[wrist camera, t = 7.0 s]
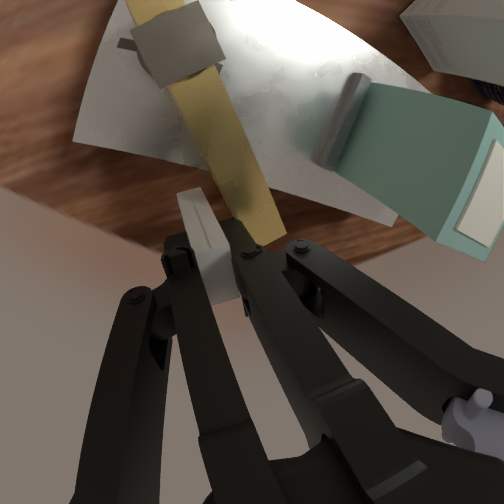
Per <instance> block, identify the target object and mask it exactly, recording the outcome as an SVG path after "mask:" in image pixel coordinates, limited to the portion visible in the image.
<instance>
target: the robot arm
mask: <svg viewBox="0 0 504 504" xmlns="http://www.w3.org/2000/svg"><path fill="white" fill-rule="evenodd" d="M176 195H177V199H178V203H179V207H180V211H181V214H182V218H183V222H184V226H185V230H186V232H183V233H179V234H176V235H172V236H169V237H167V238H166V240H165V242H164V249H165V252H164V253H163V255H162V256H161V262H162V265H163V268H164V271H165V273H166V276H167V279H166V280H165V282H164V283H163V284H162V285H160V286H159V287H157V288H155V289H154V290H151V289H150V288H148V287H146V286H138V287H135V288H132V289H130V290H128V291H127V292H126V293H125V294H124V295H123V297H122V299H121V301H120V304H119V307H118V310H117V313H116V316H115V319H114V322H113V326H112V329H111V332H110V335H109V339H108V342H107V345H106V349H105V353H104V356H103V359H102V363H101V367H100V370H99V374H98V378H97V382H96V386H95V390H94V394H93V398H92V402H91V406H90V411H89V415H88V420H87V424H86V429H85V434H84V439H83V444H82V449H81V455H80V461H79V467H78V473H77V480H76V486H75V493H74V495H73V497H72V499H71V501H70V503H69V504H159V494H160V472H161V453H162V440H163V426H164V414H165V403H166V393H167V383H168V374H169V365H170V357H171V349H172V336H174V335H175V334H177V338H178V343H179V348H180V353H181V357H182V362H183V367H184V371H185V376H186V380H187V385H188V389H189V393H190V397H191V401H192V405H193V409H194V413H195V417H196V421H197V425H198V429H199V435H200V436H199V437H198V442H199V447H200V451H201V454H202V458H203V461H204V464H205V468H206V472H207V475H208V478H209V482H210V485H211V488H212V492H211V493H210V494H209V495H208V496H207V498H206V499H205V501H204V502H203V504H504V359H503V358H500V357H497V356H494V355H492V354H488V353H486V352H483V351H480V350H477V349H474V348H472V347H471V346H469V345H468V344H467V343H465V342H464V341H462V340H461V339H460V338H458V337H457V336H455V335H454V334H453V333H451V332H450V331H448V330H447V329H446V328H444V327H443V326H441V325H440V324H438V323H437V322H435V321H434V320H433V319H431V318H430V317H428V316H427V315H425V314H424V313H422V312H421V311H420V310H418V309H417V308H415V307H414V306H412V305H411V304H409V303H408V302H406V301H405V300H403V299H402V298H400V297H399V296H397V295H396V294H394V293H393V292H391V291H390V290H388V289H387V288H385V287H384V286H382V285H381V284H379V283H378V282H376V281H375V280H373V279H372V278H370V277H369V276H367V275H366V274H364V273H363V272H361V271H360V270H358V269H356V268H355V267H353V266H352V265H350V264H349V263H347V262H346V261H344V260H342V259H341V258H339V257H338V256H336V255H335V254H333V253H331V252H330V251H328V250H327V249H325V248H324V247H322V246H320V245H319V244H317V243H316V242H314V241H311V240H309V239H296V240H293V241H291V242H289V243H288V244H287V245H286V247H285V249H286V251H280V252H269V251H267V250H266V249H265V248H264V247H263V246H262V245H259V244H256V243H255V241H254V239H253V238H252V236H251V235H250V233H249V232H248V231H247V229H246V227H245V226H244V224H243V223H242V221H240V220H238V219H236V218H231V219H227V220H223V221H220V222H218V221H217V219H216V217H215V215H214V213H213V211H212V209H211V207H210V205H209V203H208V201H207V199H206V197H205V195H204V193H203V191H202V189H201V187H198V188H194V189H190V190H186V191H183V192H179V193H176ZM239 291H240V294H241V296H242V301H243V306H244V311H245V316H246V317H248V316H249V318H250V321H251V323H252V325H253V327H254V329H255V331H256V333H257V336H258V338H259V340H260V342H261V344H262V346H263V348H264V350H265V353H266V355H267V357H268V359H269V361H270V363H271V365H272V367H273V369H274V372H275V374H276V376H277V378H278V380H279V382H280V384H281V386H282V388H283V390H284V392H285V395H286V397H287V399H288V401H289V403H290V405H291V407H292V409H293V411H294V413H295V415H296V417H297V419H298V421H299V423H300V425H301V427H302V429H303V431H304V433H305V436H306V439H307V442H308V446H309V448H310V450H309V451H308V452H306V453H305V454H303V455H302V456H299V457H293V458H286V459H277V460H268V458H267V455H266V453H265V451H264V448H263V446H262V443H261V441H260V438H259V436H258V433H257V431H256V428H255V426H254V423H253V421H252V419H251V417H250V414H249V412H248V409H247V407H246V404H245V401H244V399H243V396H242V393H241V391H240V388H239V385H238V383H237V380H236V377H235V374H234V371H233V369H232V366H231V363H230V360H229V357H228V355H227V352H226V349H225V346H224V343H223V341H222V337H221V334H220V332H219V329H218V326H217V323H216V320H215V317H214V314H213V311H212V308H211V306H212V305H215V304H218V303H222V302H225V301H228V300H231V299H235V298H238V297H240V295H239ZM319 327H320V328H321V329H322V330H323V331H324V332H325V333H326V334H328V335H329V336H330V337H331V338H332V339H333V340H335V341H336V342H337V343H338V344H339V345H340V346H341V347H342V348H344V349H345V350H346V351H347V352H348V353H349V354H351V355H352V356H353V357H354V358H355V359H356V360H357V361H359V362H360V363H361V364H362V365H363V366H364V367H366V368H367V369H368V370H369V371H370V372H371V373H373V374H374V375H375V376H376V377H377V378H378V379H380V380H381V381H382V382H383V383H384V384H385V385H387V386H388V387H389V388H390V389H391V390H392V391H394V392H395V393H396V394H397V395H398V396H399V397H401V398H402V399H403V400H404V401H405V402H407V403H408V404H409V405H410V406H411V407H412V408H413V409H415V410H416V411H417V412H419V413H420V414H421V415H423V416H424V417H426V418H428V419H429V420H431V421H433V422H435V423H437V424H439V425H441V427H442V437H443V439H444V440H445V441H446V442H448V443H451V442H452V443H454V444H455V445H456V446H457V447H456V446H453V445H450V444H446V443H443V442H440V441H436V440H433V439H430V438H427V437H424V436H421V435H418V434H415V433H412V432H409V431H406V430H404V429H400V428H397V427H395V425H394V423H393V422H392V420H391V419H390V417H389V416H388V414H387V413H386V412H385V410H384V409H383V407H382V405H381V404H380V403H379V401H378V400H377V398H376V397H375V395H374V394H373V392H372V391H371V390H370V388H369V386H368V385H367V384H366V383H365V382H364V381H363V380H361V379H354V378H353V377H352V376H351V375H350V374H349V372H348V371H347V369H346V368H345V366H344V365H343V363H342V362H341V361H340V359H339V357H338V356H337V354H336V353H335V351H334V350H333V348H332V347H331V345H330V344H329V342H328V341H327V339H326V338H325V336H324V335H323V333H322V332H321V330H320V329H319Z"/></svg>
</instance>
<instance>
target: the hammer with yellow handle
mask: <svg viewBox="0 0 504 504" xmlns="http://www.w3.org/2000/svg"><path fill="white" fill-rule="evenodd" d="M125 1H126V4H127V7H128V11H129V14H130V16H131V18H132V20H133V22H134V24H135V26H136V27H135V28H133V29H131V30H129V31H130V33H131V35H132V37H133V39H134V41H135V43H136V51H137V57H138V60H139V62H140V64H141V66H142V67H143V69H144V70H145V71H146V72H147V73H148V74H149V75H150V76H151V77H153V78H154V80H155V82H156V84H157V86H158V88H159V90H160V89H162V88H164V87H167V89H168V91H169V93H170V95H171V97H172V99H173V101H174V103H175V105H176V107H177V109H178V111H179V112H180V114H181V116H182V118H183V120H184V122H185V124H186V126H187V128H188V130H189V132H190V134H191V136H192V138H193V140H194V142H195V144H196V146H197V148H198V150H199V152H200V154H201V156H202V158H203V160H204V162H205V164H206V166H207V168H208V170H209V172H210V173H211V175H212V177H213V179H214V181H215V183H216V185H217V187H218V189H219V191H220V193H221V195H222V197H223V199H224V201H225V203H226V205H227V207H228V209H229V211H230V213H231V215H232V217H233V218H236V219H238V220H240V221H242V223H243V224H244V226H245V227H246V229H247V231H248V232H249V233H250V235H251V236H252V238H253V239H254V241H255V243H256V244H259V245H262V246H265V245H267V244H268V243H270V242H272V241H274V240H276V239H278V238H280V237H282V236H283V235H285V234H287V232H286V230H285V227H284V225H283V222H282V220H281V217H280V215H279V212H278V210H277V207H276V205H275V203H274V200H273V198H272V195H271V193H270V190H269V188H268V185H267V183H266V181H265V178H264V176H263V173H262V171H261V169H260V166H259V164H258V162H257V159H256V157H255V155H254V152H253V150H252V148H251V145H250V143H249V141H248V138H247V136H246V134H245V131H244V129H243V127H242V125H241V122H240V120H239V118H238V115H237V113H236V111H235V109H234V106H233V104H232V102H231V100H230V98H229V95H228V93H227V91H226V89H225V86H224V84H223V82H222V80H221V78H220V76H219V73H218V71H217V69H216V67H215V65H214V64H215V63H218V62H220V61H223V60H225V59H226V57H225V55H224V53H223V51H222V48H221V46H220V44H219V42H218V40H217V37H216V33H215V30H214V28H213V26H212V25H211V23H210V22H209V21H208V19H207V17H206V15H205V13H204V11H203V9H202V6H201V4H200V2H199V0H197V1H194V2H192V3H189V4H185V2H184V0H125Z"/></svg>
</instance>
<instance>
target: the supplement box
mask: <svg viewBox="0 0 504 504" xmlns="http://www.w3.org/2000/svg"><path fill="white" fill-rule="evenodd" d="M399 17H400V19H401V20H402V22H403V23H404V25H405V26H406V28H407V29H408V31H409V32H410V34H411V35H412V37H413V38H414V40H415V41H416V43H417V45H418V46H419V48H420V50H421V51H422V53H423V55H424V56H425V58H426V60H427V61H428V63H429V65H430V66H431V68H432V69H433V71H436V72H442V73H447V74H453V75H458V76H463V77H468V78H472V79H477V80H481V81H485V82H489V83H493V84H497V85H501V86H504V0H415V1H414V2H413V3H412V4H411V5H410V6H409V7H408V8H407V9H406V10H405V11H404V12H403V13H401V14H400V16H399Z"/></svg>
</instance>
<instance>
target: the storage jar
mask: <svg viewBox="0 0 504 504" xmlns="http://www.w3.org/2000/svg"><path fill="white" fill-rule="evenodd" d="M470 79H471V82H472V84H473V86H474V88H475V90H476V91H477V93H478V94H479V95H480V96H481V97H483V98H486V99H489V100H493V101H495V102H498V103H499V104H502V105H504V86H501V85H497V84H493V83H489V82H485V81H481V80H477V79H472V78H470Z"/></svg>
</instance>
